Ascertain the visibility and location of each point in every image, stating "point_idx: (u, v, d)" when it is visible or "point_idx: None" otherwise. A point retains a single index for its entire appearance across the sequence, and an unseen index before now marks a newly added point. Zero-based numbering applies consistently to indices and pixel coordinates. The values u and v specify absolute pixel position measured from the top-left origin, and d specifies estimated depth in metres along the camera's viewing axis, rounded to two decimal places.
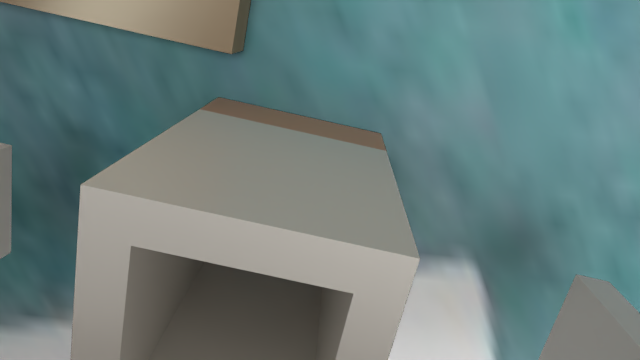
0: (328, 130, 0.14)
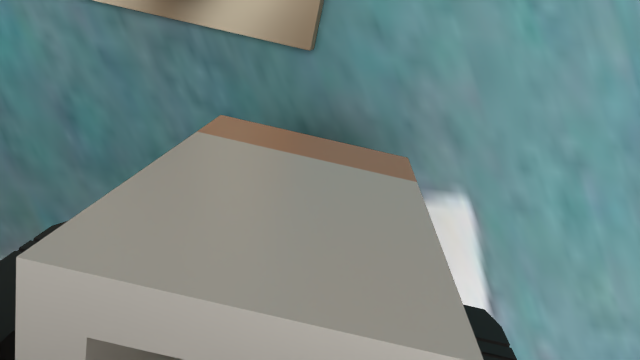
0: (347, 155, 0.12)
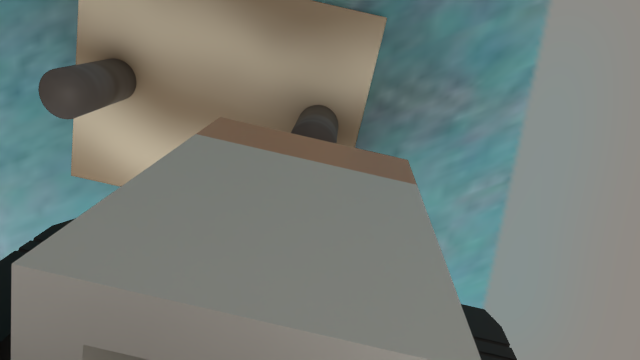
0: (347, 158, 0.11)
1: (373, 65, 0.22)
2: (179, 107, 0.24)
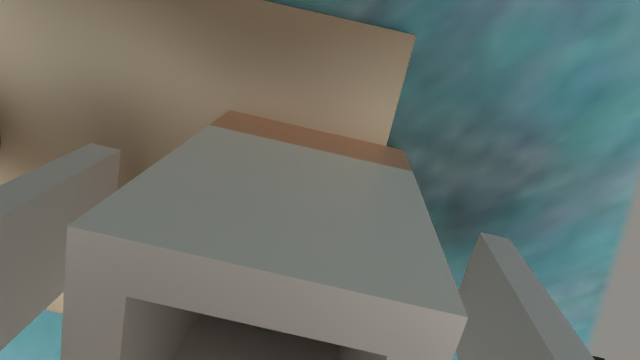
0: (348, 147, 0.12)
1: (391, 115, 0.13)
2: None
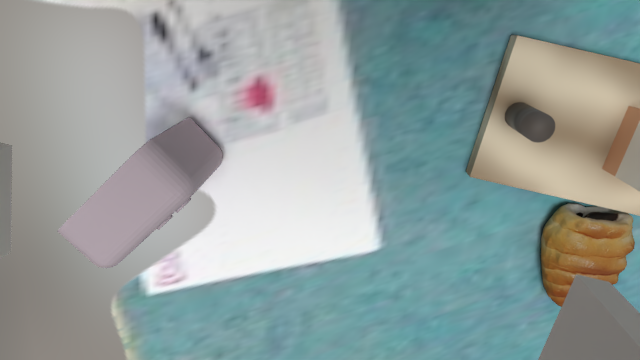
0: None
1: None
2: (556, 133, 0.37)
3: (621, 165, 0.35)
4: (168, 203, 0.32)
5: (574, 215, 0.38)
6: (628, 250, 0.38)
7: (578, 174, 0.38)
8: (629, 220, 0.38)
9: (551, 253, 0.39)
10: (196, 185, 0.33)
